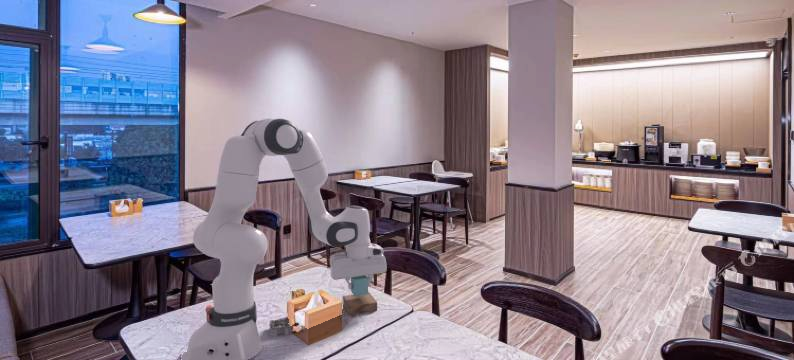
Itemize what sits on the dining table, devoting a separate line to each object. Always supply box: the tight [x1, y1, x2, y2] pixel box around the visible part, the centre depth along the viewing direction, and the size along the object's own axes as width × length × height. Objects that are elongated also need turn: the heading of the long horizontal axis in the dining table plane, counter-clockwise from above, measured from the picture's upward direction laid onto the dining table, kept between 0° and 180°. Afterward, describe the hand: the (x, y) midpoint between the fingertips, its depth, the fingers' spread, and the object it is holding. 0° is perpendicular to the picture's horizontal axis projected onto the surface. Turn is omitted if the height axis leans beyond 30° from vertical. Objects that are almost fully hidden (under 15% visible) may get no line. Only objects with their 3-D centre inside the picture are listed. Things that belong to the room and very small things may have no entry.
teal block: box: [350, 275, 369, 296], centre depth 158 cm, size 5×5×6 cm
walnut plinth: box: [342, 291, 378, 316], centre depth 159 cm, size 10×10×3 cm
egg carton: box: [268, 316, 296, 337], centre depth 143 cm, size 11×8×4 cm
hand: (359, 287), depth 158 cm, fingers closed on teal block, 5 cm apart
